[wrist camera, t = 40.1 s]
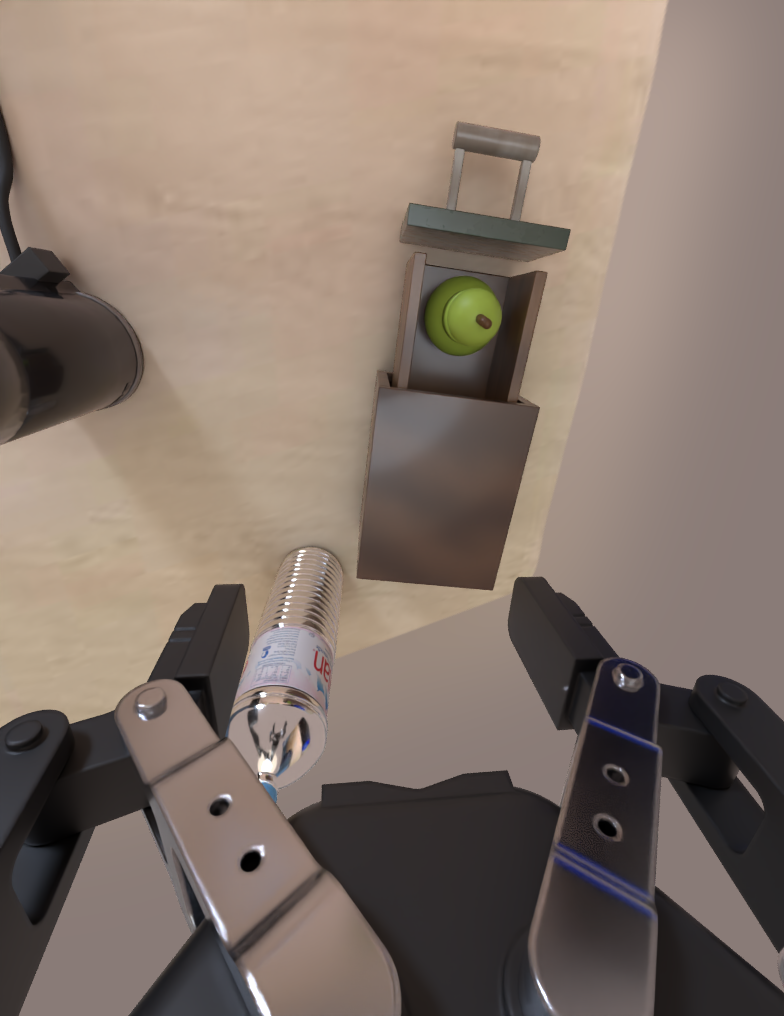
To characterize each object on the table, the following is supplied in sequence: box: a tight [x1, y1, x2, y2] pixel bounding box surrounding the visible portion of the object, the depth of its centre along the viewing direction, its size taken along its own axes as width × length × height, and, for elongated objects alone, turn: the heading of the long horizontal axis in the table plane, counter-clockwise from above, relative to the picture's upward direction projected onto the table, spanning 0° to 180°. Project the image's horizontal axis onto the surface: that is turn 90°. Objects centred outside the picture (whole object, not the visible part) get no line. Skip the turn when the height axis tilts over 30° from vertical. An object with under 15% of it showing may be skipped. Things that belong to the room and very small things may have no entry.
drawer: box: [391, 121, 570, 403], centre depth 34 cm, size 20×10×8 cm, turn 173°
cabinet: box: [357, 370, 540, 590], centre depth 40 cm, size 16×12×10 cm
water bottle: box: [225, 547, 343, 803], centre depth 37 cm, size 7×7×25 cm
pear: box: [424, 276, 502, 356], centre depth 32 cm, size 6×6×11 cm
